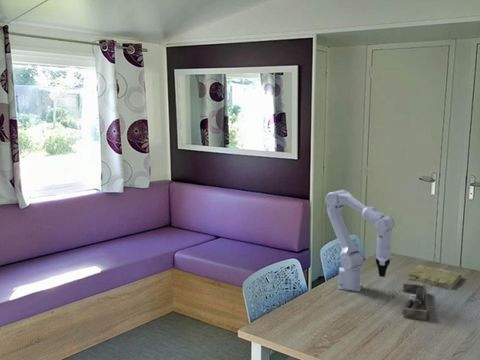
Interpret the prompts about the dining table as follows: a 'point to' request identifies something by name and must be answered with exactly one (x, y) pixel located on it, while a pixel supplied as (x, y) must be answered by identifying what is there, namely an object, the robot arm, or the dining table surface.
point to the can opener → (414, 300)
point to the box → (416, 312)
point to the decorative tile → (435, 276)
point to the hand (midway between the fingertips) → (382, 276)
